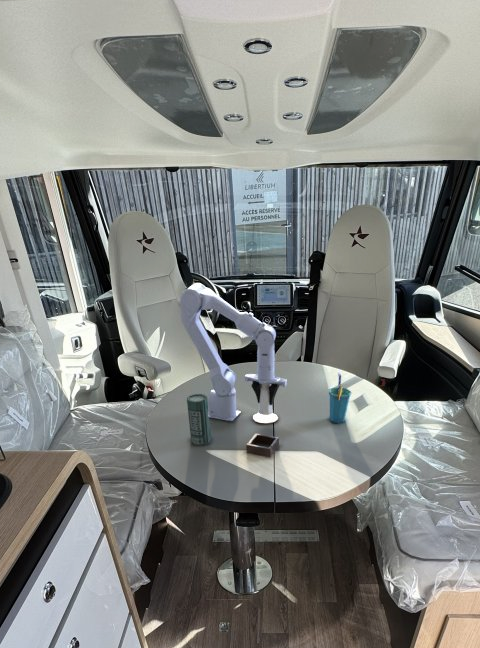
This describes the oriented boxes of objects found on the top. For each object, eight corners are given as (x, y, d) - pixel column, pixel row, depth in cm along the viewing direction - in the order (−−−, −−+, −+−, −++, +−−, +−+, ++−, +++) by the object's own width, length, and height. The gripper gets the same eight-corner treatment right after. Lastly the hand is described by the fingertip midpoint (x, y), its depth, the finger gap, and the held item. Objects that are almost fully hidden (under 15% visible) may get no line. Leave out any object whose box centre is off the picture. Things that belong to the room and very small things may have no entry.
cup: (324, 410, 164) (327, 370, 155) (345, 410, 164) (349, 371, 155) (327, 427, 152) (332, 386, 144) (350, 427, 152) (355, 386, 143)
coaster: (249, 421, 156) (249, 420, 156) (258, 411, 163) (258, 410, 163) (273, 425, 153) (273, 424, 153) (281, 415, 160) (281, 414, 160)
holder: (246, 453, 138) (246, 444, 137) (255, 441, 144) (255, 433, 143) (270, 457, 136) (270, 449, 134) (278, 445, 142) (279, 437, 140)
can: (213, 437, 146) (210, 395, 137) (205, 446, 142) (201, 402, 133) (196, 434, 148) (192, 392, 139) (188, 443, 143) (183, 400, 134)
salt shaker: (255, 410, 158) (255, 380, 151) (269, 407, 160) (269, 378, 153) (261, 416, 154) (261, 386, 147) (275, 413, 156) (276, 383, 149)
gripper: (241, 366, 146) (242, 404, 154) (282, 371, 141) (281, 410, 150) (249, 359, 151) (249, 396, 159) (289, 364, 147) (287, 402, 155)
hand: (265, 403), depth 155 cm, fingers closed on salt shaker, 4 cm apart
